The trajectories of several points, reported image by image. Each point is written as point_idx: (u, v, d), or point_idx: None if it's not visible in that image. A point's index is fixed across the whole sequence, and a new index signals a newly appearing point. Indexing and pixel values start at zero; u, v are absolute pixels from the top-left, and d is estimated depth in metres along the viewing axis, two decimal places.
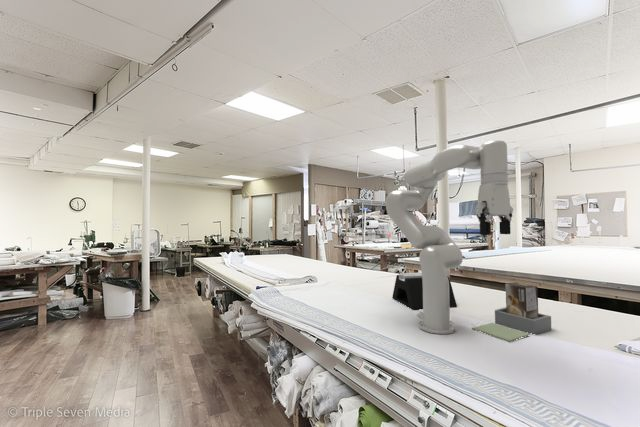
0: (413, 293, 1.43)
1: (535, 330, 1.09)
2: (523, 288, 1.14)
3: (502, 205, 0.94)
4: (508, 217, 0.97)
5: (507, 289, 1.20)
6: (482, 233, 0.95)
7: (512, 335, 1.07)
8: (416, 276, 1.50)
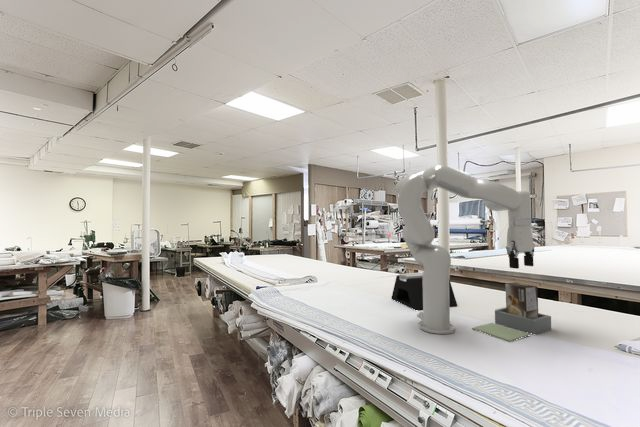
0: (416, 293, 1.43)
1: (535, 330, 1.09)
2: (523, 288, 1.14)
3: (527, 244, 1.17)
4: (531, 252, 1.19)
5: (507, 289, 1.20)
6: (511, 266, 1.17)
7: (512, 335, 1.07)
8: (417, 276, 1.50)
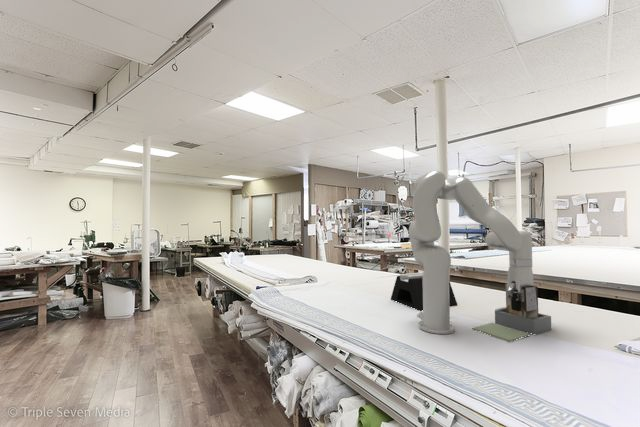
0: (419, 293, 1.42)
1: (535, 330, 1.09)
2: (523, 288, 1.14)
3: (528, 284, 1.16)
4: None
5: (507, 289, 1.20)
6: (513, 308, 1.17)
7: (512, 335, 1.07)
8: (418, 276, 1.49)
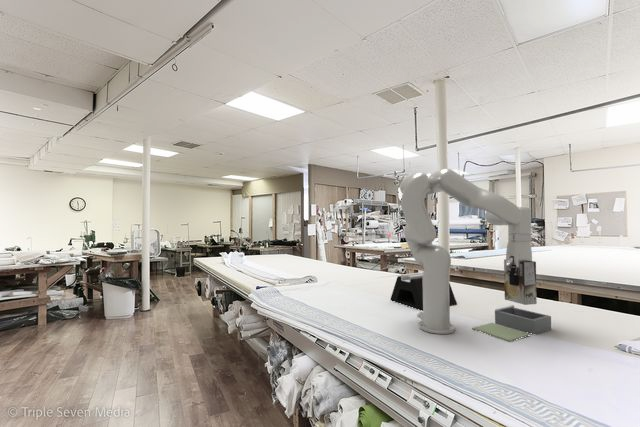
0: (421, 294, 1.42)
1: (535, 330, 1.09)
2: (521, 262, 1.14)
3: (526, 259, 1.16)
4: None
5: (505, 265, 1.21)
6: (511, 283, 1.17)
7: (512, 335, 1.07)
8: (419, 276, 1.49)
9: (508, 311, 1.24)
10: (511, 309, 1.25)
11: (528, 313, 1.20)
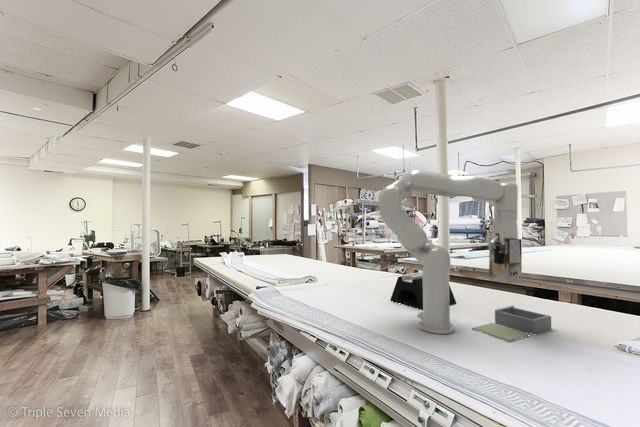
0: None
1: (535, 330, 1.09)
2: (507, 240, 1.10)
3: (512, 237, 1.13)
4: None
5: None
6: (496, 262, 1.13)
7: (512, 335, 1.07)
8: (420, 276, 1.49)
9: (508, 311, 1.24)
10: (511, 309, 1.25)
11: (528, 313, 1.20)
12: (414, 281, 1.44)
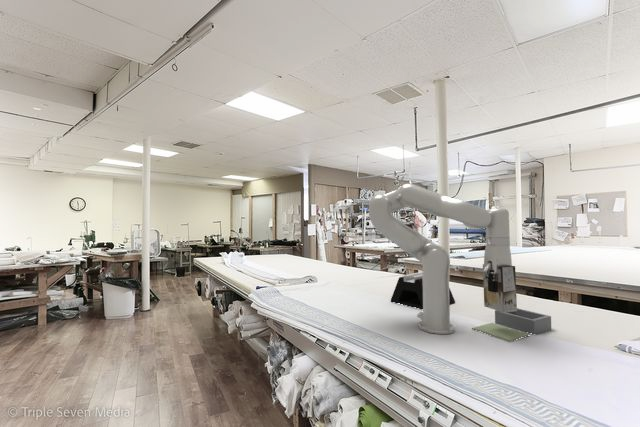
0: None
1: (535, 330, 1.09)
2: (500, 268, 1.08)
3: (505, 264, 1.10)
4: None
5: None
6: (490, 290, 1.10)
7: (512, 335, 1.07)
8: (421, 276, 1.49)
9: None
10: None
11: (528, 313, 1.20)
12: (417, 281, 1.44)
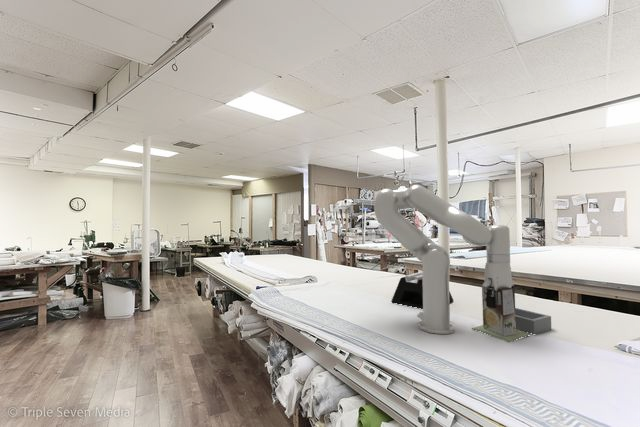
0: None
1: (535, 330, 1.09)
2: (500, 290, 1.07)
3: (505, 281, 1.10)
4: None
5: (483, 291, 1.14)
6: (488, 305, 1.10)
7: (512, 335, 1.07)
8: None
9: None
10: None
11: (528, 313, 1.20)
12: (420, 281, 1.43)
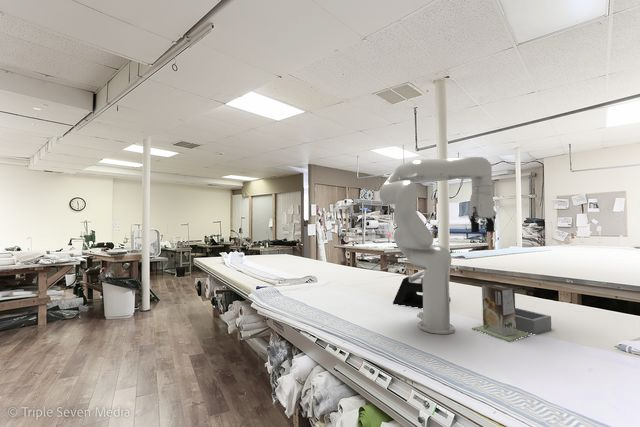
0: None
1: (535, 330, 1.09)
2: (500, 290, 1.07)
3: (488, 210, 1.25)
4: (492, 219, 1.28)
5: (483, 291, 1.14)
6: (473, 231, 1.25)
7: (512, 335, 1.07)
8: None
9: None
10: None
11: (528, 313, 1.20)
12: None
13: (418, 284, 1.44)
